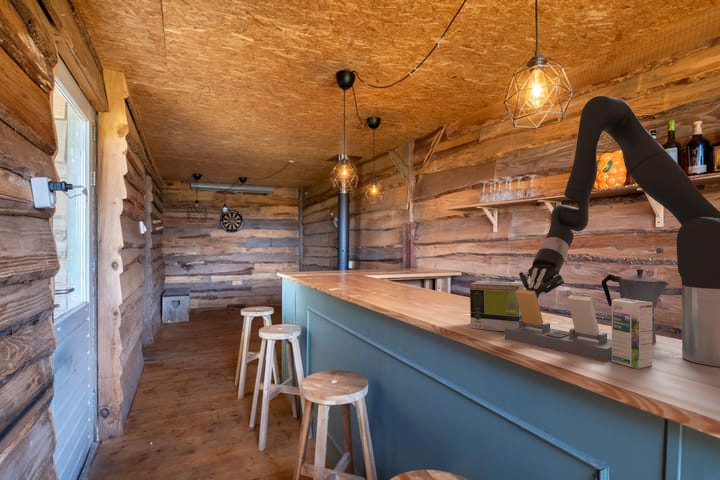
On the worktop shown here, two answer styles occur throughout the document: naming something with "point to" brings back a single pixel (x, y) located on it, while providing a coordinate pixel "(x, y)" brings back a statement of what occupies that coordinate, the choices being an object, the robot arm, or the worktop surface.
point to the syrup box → (632, 333)
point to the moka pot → (637, 290)
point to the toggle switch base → (562, 341)
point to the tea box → (494, 305)
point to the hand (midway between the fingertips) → (529, 301)
